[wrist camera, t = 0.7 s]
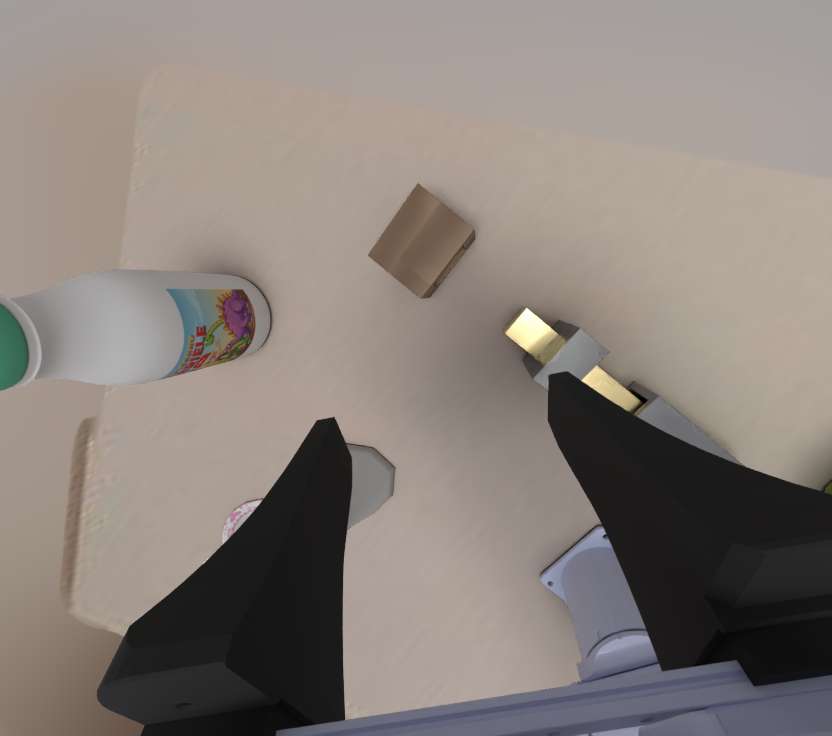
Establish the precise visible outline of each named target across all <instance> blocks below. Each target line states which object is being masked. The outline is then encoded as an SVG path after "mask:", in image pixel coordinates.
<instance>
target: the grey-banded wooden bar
mask: <svg viewBox="0 0 832 736" xmlns="http://www.w3.org/2000/svg"><path fill="white" fill-rule="evenodd" d="M503 331H504V332H505V334H506V335H508V336H509V337H510V338H511V339H513V340H514V341H515V342H516V343H517V344H519V345H520V346H521V347H522V348H524V349H525V350H526V351H527V352H528V353H529V354H528V355H527V356H526V357H525V358H524V359H523V363H524V365H525V366H526V368H527V370H528V372H529V373H530V375H531V377H532V378H533V380H535V381H536V382H537V383H538V384H540V385H541V386H542V387H543V388H544V389H546V390H547V391H548V375H549V374H554V373H560V372H565V371H568V372H570V373H571V374H572V375H574V376H575V377H577V378H578V379H580V380H581V381H583V382H584V383H586V384H587V385H588V386H590V387H591V388H593V389H594V390H596V391H597V392H599V393H600V394H602V395H603V396H605V397H606V398H608V399H609V400H611V401H612V402H614V403H616V404H617V405H619V406H620V407H622V408H623V409H625V410H627V411H628V412H630V413H632V414H634V413H635V412H636V411H637V410H638V409H639V408H640V407H642V406H643V405H644V404H643V403H642V402H641V401H640V400H639V399H637V398H636V397H635V396H634V395H632V394H631V393H630V392H629V391H628V390H626V389H625V388H624V387H623V386H621V385H620V384H619V383H618V382H617V381H615V380H614V379H613V378H612V377H610V376H609V375H608V374H607V373H605V372H604V371H603V370H602V369H601V368H599V367H598V366H597V364H598V363H599V362H600V361H601V360H602V359H603V358H604V357H605V356H606V355H607V354H608V353H609V351H608V350H607V349H605V348H604V347H603V346H602V345H600V344H599V343H598V342H597V341H596V340H594V339H593V338H592V337H591V336H589V335H588V334H587V333H586V332H585V331H583V330H582V329H581V328H578V327H576V326H573V325H571V324H568V323H565V322H563V321H560V320H559V321H558V322H557V323H556V324H555V325H554V326H553V328H552V329H551V328H550V327H549V326H548V325H547V324H545V323H544V322H543V321H542V320H540V319H539V318H538V317H537V316H536V315H534V314H533V313H532V312H531V311H529V310H528V309H527V308H525V307H523V308H522V309H521V310H520V311H519V312H518V314H517V315H516V316H515V317H514V318H513V319H512V320H511V322H510V323H509V324H508V325H507V326H506V327H505V329H504V330H503Z"/></svg>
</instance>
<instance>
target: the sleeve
mask: <svg viewBox="0 0 832 736" xmlns="http://www.w3.org/2000/svg"><path fill="white" fill-rule="evenodd" d="M626 390H628V391H629V392H630V393H631V394H632V395H634V396H635V397H636V398H637V399H639V400H640V401H641V402H642V403H643V404H644V405H643V406H642V407H640V408H639V409H638V410H637V411H636V412H635V413H634V414H633V415H635V416H637V417H639V418H640V419H642V420H644V421H646V422H648V423H649V424H651V425H653V426H655V427H657V428H658V429H660V430H662V431H664V432H666V433H668V434H670V435H672V436H674V437H676V438H679V439H681V440H683V441H685V442H687V443H689V444H691V445H693V446H696V447H698V448H700V449H702V450H705V451H707V452H709V453H712V454H714V455H717V456H719V457H722V458H724V459H726V460H729V461H731V462H734V463H737V464H739V465H742V466H744V465H743V464H741V463H740V462H739V461H738V460H737V459H735V458H734V457H733V456H732V455H730V454H729V453H728V452H727V451H725V450H724V449H723V448H722V447H721V446H719V445H718V444H717V443H716V442H714V441H713V440H712V439H711V438H710V437H708V436H707V435H706V434H705V433H703V432H702V431H701V430H700V429H698V428H697V427H696V426H695V425H694V424H692V423H691V422H690V421H689V420H687V419H686V418H685V417H684V416H683V415H681V414H680V413H679V412H678V411H676V410H675V409H674V408H673V407H671V406H670V405H669V404H668V403H667V402H665V401H664V400H663V399H662V398H660V397H659V396H658V395H656V394H654V393H653V392H651V391H649V390H648V389H646V388H644V387H643V386H641V385H639V384H638V383H636V382H633V383H632V384H631V385H630V386H629V387H628V388H627V389H626Z"/></svg>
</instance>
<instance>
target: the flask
mask: <svg viewBox="0 0 832 736" xmlns="http://www.w3.org/2000/svg"><path fill="white" fill-rule="evenodd" d="M346 445H347V447H348V449H349V452H350V454H351V456H352V494H351V502H350V511H349V519H348V527H347V530H348V529H349V528H351V527H352V526H354V525H355V524H357V523H358V522H360V521H362V520H363V519H365V518H367V517H369V516H370V515H372V514H373V513H375V512H376V511H377V510H378V509H379V508H380V507H381V506H382V505H383V504H384V503H385V502H386V501H387V500H388V499H389V498H390V497H391V496H392V495H393V485H394V473H395V468H394V467H393V466H392V465H390V464H389V463H388V462H387V461H386V460H385V459H384V458H383V457H382V456H381V455H380V454H379V453H378V452H376V451H375V450H374V449H373V448H368V447H362V446H356V445H349V444H346Z"/></svg>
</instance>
